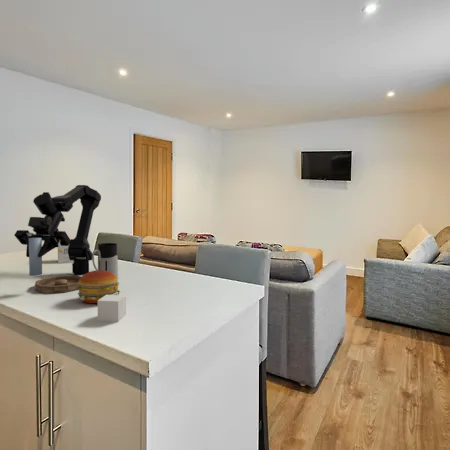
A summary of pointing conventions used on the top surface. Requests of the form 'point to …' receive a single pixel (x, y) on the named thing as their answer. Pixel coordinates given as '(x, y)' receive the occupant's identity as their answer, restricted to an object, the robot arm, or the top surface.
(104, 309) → the white cube
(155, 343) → the top surface
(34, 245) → the peg
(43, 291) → the tray
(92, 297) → the burger
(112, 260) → the grey jug
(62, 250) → the ink box
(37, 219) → the robot arm
